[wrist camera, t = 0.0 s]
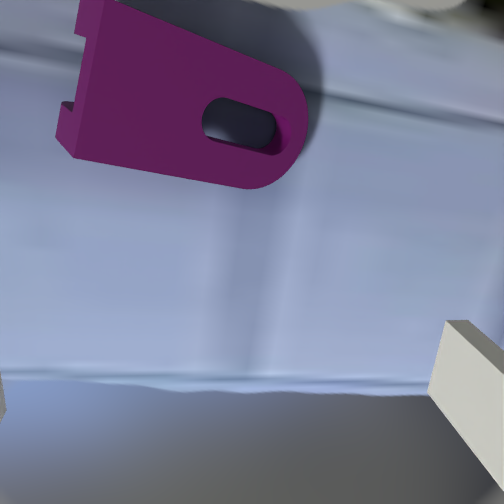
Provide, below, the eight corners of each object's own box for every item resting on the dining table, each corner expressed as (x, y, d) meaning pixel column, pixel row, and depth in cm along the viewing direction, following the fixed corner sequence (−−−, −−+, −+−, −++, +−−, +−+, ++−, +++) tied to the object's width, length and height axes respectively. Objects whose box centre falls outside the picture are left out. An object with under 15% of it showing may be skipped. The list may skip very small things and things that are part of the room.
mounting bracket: (265, 72, 43) (67, -8, 31) (323, 87, 36) (105, -5, 25) (234, 167, 45) (44, 126, 34) (284, 197, 39) (72, 157, 28)
